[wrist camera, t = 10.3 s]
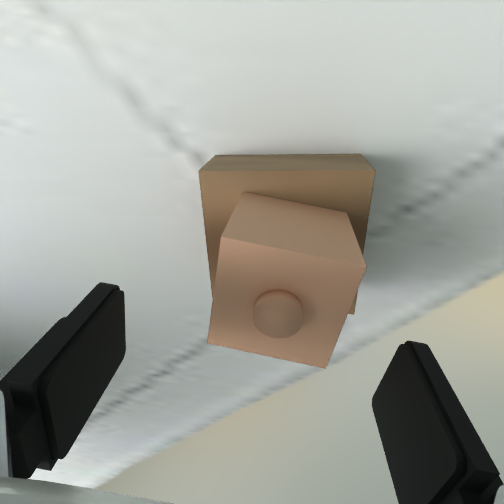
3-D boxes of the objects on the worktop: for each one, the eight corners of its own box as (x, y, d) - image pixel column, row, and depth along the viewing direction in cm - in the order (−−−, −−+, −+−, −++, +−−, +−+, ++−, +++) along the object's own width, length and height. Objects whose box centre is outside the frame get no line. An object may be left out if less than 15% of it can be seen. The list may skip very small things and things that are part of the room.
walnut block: (344, 275, 21) (353, 314, 18) (226, 271, 22) (213, 307, 19) (359, 152, 18) (375, 170, 14) (216, 154, 19) (198, 170, 15)
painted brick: (318, 296, 18) (327, 380, 13) (229, 277, 18) (203, 353, 13) (346, 212, 15) (370, 276, 10) (242, 191, 15) (217, 244, 10)
